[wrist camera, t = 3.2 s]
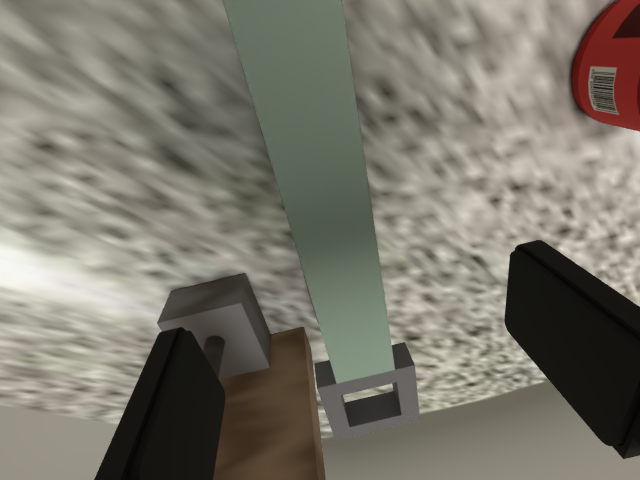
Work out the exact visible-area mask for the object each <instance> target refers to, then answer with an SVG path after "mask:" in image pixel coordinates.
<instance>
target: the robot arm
mask: <svg viewBox="0 0 640 480" xmlns="http://www.w3.org/2000/svg"><path fill="white" fill-rule="evenodd" d="M505 325H506V328H507V330H508V332H509V333H510V334H511V336H512V337H513V338H514V339H515V340H516V341H517V343H518V344H519V345H520V346H521V347H522V349H523V350H524V351H525V352H526V353H527V354H528V356H529V357H530V358H531V359H532V360H533V361H534V363H535V364H536V365H537V366H538V367H539V369H540V370H541V371H542V372H543V373H544V374H545V376H546V377H547V378H548V379H549V380H550V381H551V383H552V384H553V385H554V386H555V387H556V389H557V390H558V391H559V392H560V393H561V394H562V396H563V397H564V398H565V399H566V400H567V402H568V403H569V404H570V405H571V406H572V407H573V409H574V410H575V411H576V412H577V413H578V414H579V416H580V417H581V418H582V419H583V420H584V421H585V423H586V424H587V425H588V426H589V427H590V429H591V430H592V431H593V432H594V433H595V435H596V436H597V437H598V438H599V439H600V440H601V441H602V442H603V443H604V444H606V445H608V446H613V448H614V449H615V450H616V451H617V452H618V453H619V455H620V456H621V457H622V458H623V459H625V458H630V457H634V456H639V455H640V307H639V306H637V305H636V304H634V303H633V302H632V301H630V300H629V299H627V298H626V297H624V296H623V295H621V294H620V293H618V292H617V291H615V290H614V289H612V288H611V287H610V286H608V285H607V284H605V283H604V282H602V281H601V280H599V279H598V278H596V277H595V276H593V275H592V274H590V273H589V272H588V271H586V270H585V269H583V268H582V267H580V266H579V265H577V264H576V263H574V262H573V261H571V260H570V259H568V258H567V257H566V256H564V255H563V254H561V253H560V252H558V251H557V250H555V249H554V248H552V247H551V246H549V245H548V244H546V243H545V242H543V241H541V240H536V241H532V242H528V243H524V244H520V245H518V246H516V248H515V251H513V252H512V253H511V254H510V263H509V274H508V286H507V298H506V309H505ZM224 407H225V391H224V388H223V386H222V385H221V383H220V381H219V379H218V377H217V376H216V374H215V372H214V370H213V369H212V367H211V365H210V363H209V361H208V360H207V358H206V356H205V354H204V353H203V351H202V349H201V347H200V345H199V344H198V342H197V340H196V338H195V337H194V335H193V333H192V332H191V331H190V330H188V331H186V330H185V329H184V328H183V327H178V328H174V329H170V330H166V331H162V332H160V333H159V335H158V336H157V339H156V341H155V343H154V346H153V348H152V350H151V352H150V355H149V357H148V359H147V361H146V364H145V366H144V368H143V370H142V373H141V375H140V377H139V380H138V382H137V384H136V386H135V389H134V391H133V393H132V395H131V398H130V400H129V402H128V404H127V407H126V409H125V411H124V414H123V416H122V418H121V420H120V423H119V425H118V427H117V430H116V432H115V434H114V436H113V438H112V441H111V443H110V446H109V448H108V450H107V452H106V454H105V457H104V459H103V461H102V463H101V466H100V468H99V470H98V472H97V475H96V477H95V479H94V480H213V477H214V470H215V464H216V458H217V451H218V445H219V439H220V432H221V426H222V420H223V413H224Z"/></svg>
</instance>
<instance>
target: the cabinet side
mask: <svg viewBox="0 0 640 480" xmlns="http://www.w3.org/2000/svg"><path fill="white" fill-rule="evenodd" d="M157 324H158V325H159V327H160V328H161V330H162V331H166V330H170V329H174V328H178V327H183V328H184V329H185V330H186V331H188V330H190V331H191V332H192V333H193V335H194V337H195V338H196V340H197V342H198V344H199V345H200V347H201V349H202V351H203V353H204V354H205V356H206V358H207V360H208V361H209V363H210V365H211V367H212V369H213V370H214V372H215V374H216V376H217V377H218V379H219V381H220V383H221V385H222V386H223V388H224V391H225V407H224V413H223V420H222V426H221V432H220V439H219V445H218V451H217V458H216V464H215V470H214V477H213V480H325V470H324V462H323V452H322V443H321V434H320V425H319V416H318V407H317V398H316V390H315V381H314V372H313V363H312V354H311V348H310V345H309V342H308V339H307V336H306V333H305V330H304V327H302V328H298V329H293V330H289V331H285V332H281V333H277V334H273V335H271V334H270V332H269V329H268V327H267V324H266V322H265V320H264V317H263V315H262V312H261V310H260V308H259V305H258V303H257V300H256V298H255V295H254V293H253V291H252V288H251V286H250V283H249V281H248V278H247V276H246V274H240V275H236V276H232V277H228V278H224V279H220V280H216V281H212V282H207V283H203V284H199V285H195V286H191V287H187V288H183V289H178V290H174V291H171V293H170V295H169V297H168V300H167V302H166V304H165V306H164V309H163V311H162V313H161V315H160V318H159V320H158V322H157Z"/></svg>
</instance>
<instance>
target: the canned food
mask: <svg viewBox="0 0 640 480" xmlns="http://www.w3.org/2000/svg"><path fill="white" fill-rule="evenodd" d="M572 89H573V93H574V97H575V100H576V102H577V103H578V105H579V107H580V108H581V109H582V110H583V111H584V112H586V113H587V114H588V115H589V116H591V117H592V118H593V119H595V120H597V121H599V122H601V123H606V124H610V125H614V126H619V127H623V128H627V129H632V130H636V131H640V0H618V1H616V2H615V3H613V4H612V5H611V6H610V7H609V8H608V9H607V10H606V11H605V12H603V13H602V14H601V15H600V17H599V18H598V19H597V20H596V22H595V23H594V24H593V25H592V26H591V28H590V29H589V31H588V33H587V34H586V36H585V38H584V39H583V41H582V43H581V46H580V48H579V50H578V52H577V55H576V59H575V62H574V66H573V73H572Z"/></svg>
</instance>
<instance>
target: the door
mask: <svg viewBox="0 0 640 480" xmlns="http://www.w3.org/2000/svg"><path fill="white" fill-rule="evenodd" d="M223 3H224V6H225V10H226V13H227V16H228V20H229V23H230V26H231V30H232V33H233V37H234V40H235V43H236V47H237V50H238V53H239V57H240V60H241V63H242V67H243V70H244V74H245V77H246V80H247V84H248V87H249V90H250V94H251V97H252V100H253V104H254V107H255V111H256V114H257V117H258V121H259V124H260V127H261V131H262V134H263V137H264V141H265V144H266V148H267V151H268V154H269V158H270V161H271V164H272V168H273V171H274V174H275V178H276V181H277V185H278V188H279V191H280V195H281V198H282V201H283V205H284V208H285V211H286V215H287V218H288V222H289V225H290V228H291V232H292V235H293V238H294V242H295V245H296V248H297V252H298V255H299V259H300V262H301V265H302V269H303V272H304V278H305V281H306V284H307V288H308V291H309V294H310V298H311V301H312V304H313V308H314V311H315V314H316V318H317V321H318V323H319V326H320V329H321V333H322V336H323V339H324V343H325V346H326V349H327V353H328V356H329V359H330V360H328V361H324V362H320V363H315V364H314V365H315V373H316V382H317V389H318V392H319V395H320V398H321V400H322V403H323V406H324V409H325V412H326V415H327V418H328V420H329V423H330V426H331V429H332V432H333V435H334V437H335V440H336V441H337V440H340V439H345V438H349V437H354V436H358V435H362V434H366V433H371V432H375V431H379V430H383V429H388V428H392V427H396V426H400V425H404V424H409V423H413V422H417V421H420V415H419V405H418V395H417V384H416V374H415V365H414V362H413V360H412V358H411V356H410V353H409V351H408V349H407V346H406V344H405V342H403V343H399V344H395V345H391V338H390V331H389V324H388V317H387V310H386V303H385V296H384V289H383V282H382V275H381V269H380V262H379V255H378V248H377V241H376V234H375V227H374V220H373V213H372V206H371V199H370V193H369V186H368V179H367V172H366V165H365V158H364V151H363V144H362V137H361V130H360V123H359V116H358V110H357V103H356V96H355V89H354V82H353V75H352V68H351V61H350V54H349V47H348V40H347V34H346V27H345V20H344V13H343V6H342V0H223ZM391 383H392V384H393V391H392V392H388V393H384V394H380V395H375V396H371V397H367V398H363V399H359V400H354V401H350V402H346V403H345V401H344V398H343V395H345V394H349V393H353V392H358V391H362V390H366V389H370V388H374V387H379V386H383V385H387V384H391Z"/></svg>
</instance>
